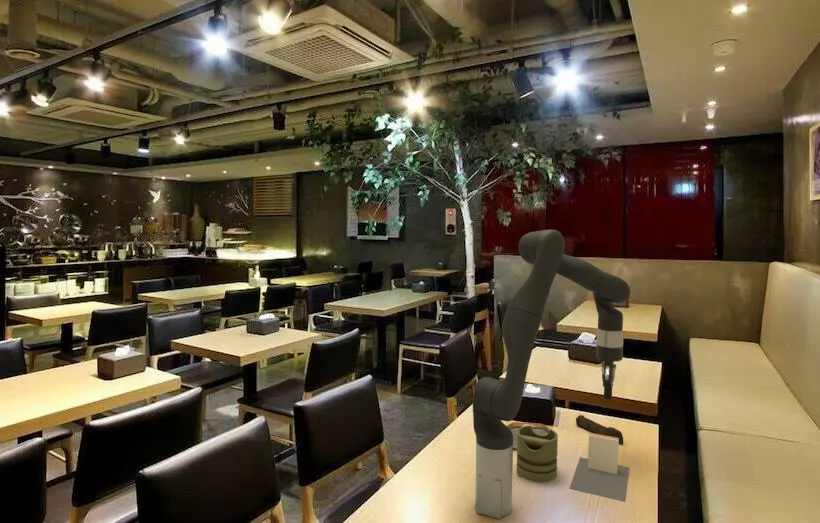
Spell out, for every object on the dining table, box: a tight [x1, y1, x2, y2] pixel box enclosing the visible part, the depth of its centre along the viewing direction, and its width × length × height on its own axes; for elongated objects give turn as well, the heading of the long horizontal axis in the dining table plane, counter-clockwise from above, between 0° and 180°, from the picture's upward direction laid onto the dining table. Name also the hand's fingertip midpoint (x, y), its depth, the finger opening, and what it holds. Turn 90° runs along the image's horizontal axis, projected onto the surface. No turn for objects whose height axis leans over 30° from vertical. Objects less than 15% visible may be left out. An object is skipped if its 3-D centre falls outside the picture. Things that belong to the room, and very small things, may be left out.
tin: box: [506, 421, 550, 451], centre depth 158 cm, size 15×3×8 cm, turn 84°
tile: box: [587, 432, 620, 474], centre depth 144 cm, size 2×8×10 cm, turn 63°
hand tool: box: [575, 414, 624, 446], centre depth 168 cm, size 19×4×5 cm, turn 24°
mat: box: [569, 456, 631, 503], centre depth 140 cm, size 20×14×1 cm
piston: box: [516, 425, 559, 483], centre depth 143 cm, size 11×12×11 cm
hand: (607, 398), depth 152 cm, fingers closed
